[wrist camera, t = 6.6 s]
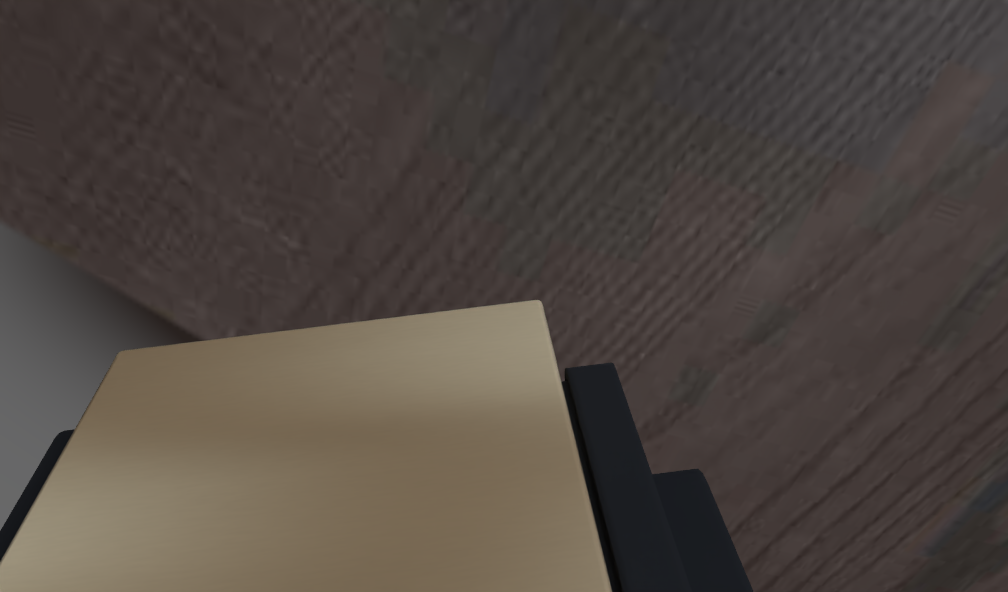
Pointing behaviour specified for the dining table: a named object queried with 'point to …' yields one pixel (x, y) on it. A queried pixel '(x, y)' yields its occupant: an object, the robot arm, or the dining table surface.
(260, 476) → the block
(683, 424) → the dining table surface
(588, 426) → the robot arm
